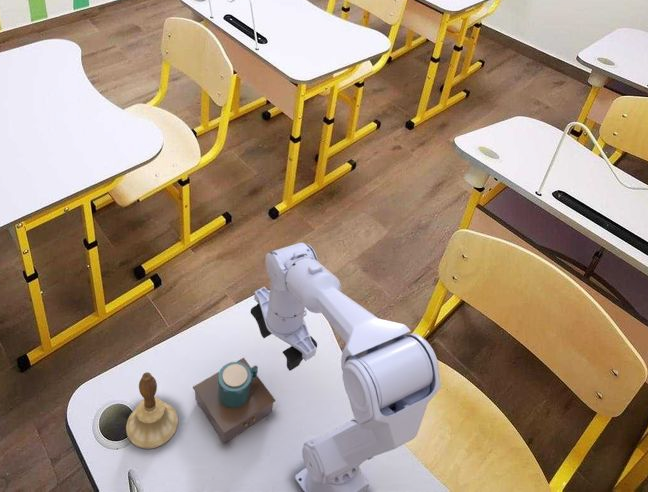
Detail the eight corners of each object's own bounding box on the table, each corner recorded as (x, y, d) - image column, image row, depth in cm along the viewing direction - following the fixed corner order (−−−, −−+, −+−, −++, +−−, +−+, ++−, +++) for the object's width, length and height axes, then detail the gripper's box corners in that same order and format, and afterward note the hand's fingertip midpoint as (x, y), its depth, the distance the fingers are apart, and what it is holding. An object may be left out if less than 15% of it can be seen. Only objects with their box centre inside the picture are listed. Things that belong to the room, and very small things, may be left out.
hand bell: (172, 395, 102) (167, 345, 91) (183, 439, 97) (179, 391, 86) (122, 410, 99) (110, 360, 88) (130, 456, 93) (119, 409, 83)
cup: (264, 391, 100) (267, 373, 96) (228, 414, 96) (229, 396, 92) (247, 368, 103) (249, 349, 98) (211, 389, 99) (211, 371, 95)
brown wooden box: (274, 415, 102) (276, 401, 99) (224, 448, 97) (224, 434, 93) (242, 371, 107) (243, 357, 104) (193, 400, 102) (192, 386, 98)
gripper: (335, 323, 90) (324, 369, 99) (281, 262, 96) (275, 310, 106) (298, 345, 86) (290, 391, 95) (244, 280, 93) (241, 329, 102)
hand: (280, 350), depth 100 cm, fingers open, 7 cm apart
